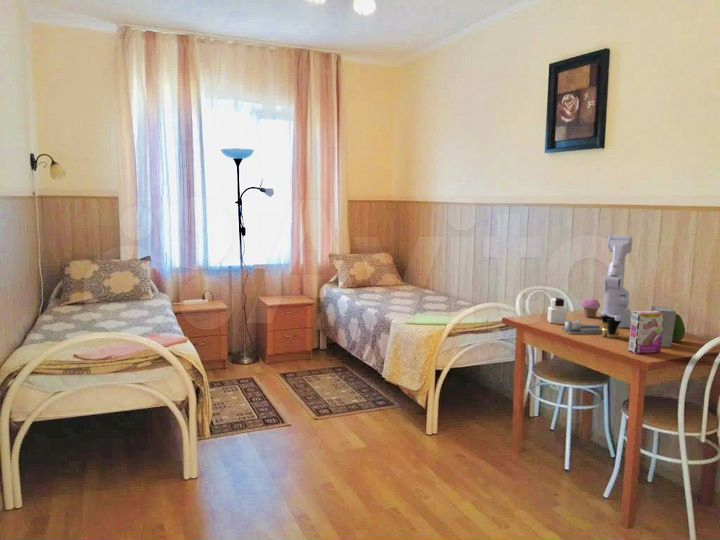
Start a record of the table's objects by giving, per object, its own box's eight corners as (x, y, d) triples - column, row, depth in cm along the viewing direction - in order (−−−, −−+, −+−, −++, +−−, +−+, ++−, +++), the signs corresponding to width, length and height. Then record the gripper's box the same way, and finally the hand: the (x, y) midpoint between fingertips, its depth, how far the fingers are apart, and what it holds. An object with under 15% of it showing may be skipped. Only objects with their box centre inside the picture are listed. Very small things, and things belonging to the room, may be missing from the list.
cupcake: (600, 319, 276) (602, 299, 275) (582, 318, 278) (583, 299, 277) (597, 315, 285) (598, 296, 284) (579, 314, 287) (580, 296, 286)
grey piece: (597, 329, 255) (598, 318, 254) (607, 334, 245) (607, 323, 244) (561, 329, 255) (562, 318, 254) (569, 334, 245) (570, 323, 245)
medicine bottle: (561, 320, 272) (563, 297, 271) (565, 324, 265) (567, 300, 264) (547, 320, 273) (548, 297, 271) (550, 323, 266) (551, 299, 264)
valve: (615, 335, 244) (616, 320, 243) (619, 337, 240) (620, 322, 239) (599, 335, 244) (600, 320, 243) (603, 337, 240) (604, 322, 239)
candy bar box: (635, 354, 214) (638, 313, 212) (627, 350, 219) (630, 310, 217) (661, 353, 216) (664, 312, 214) (653, 349, 221) (656, 310, 218)
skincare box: (646, 342, 232) (649, 305, 230) (663, 342, 232) (666, 305, 230) (656, 347, 224) (659, 309, 222) (674, 347, 224) (677, 309, 222)
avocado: (672, 338, 239) (674, 311, 237) (688, 342, 232) (690, 315, 230) (658, 339, 236) (660, 312, 235) (674, 344, 229) (676, 316, 227)
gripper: (595, 300, 247) (593, 329, 249) (610, 306, 233) (608, 337, 234) (611, 300, 247) (609, 329, 249) (626, 306, 232) (624, 337, 234)
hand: (609, 333), depth 241 cm, fingers closed on valve, 4 cm apart
